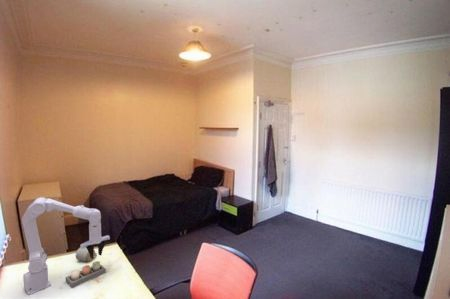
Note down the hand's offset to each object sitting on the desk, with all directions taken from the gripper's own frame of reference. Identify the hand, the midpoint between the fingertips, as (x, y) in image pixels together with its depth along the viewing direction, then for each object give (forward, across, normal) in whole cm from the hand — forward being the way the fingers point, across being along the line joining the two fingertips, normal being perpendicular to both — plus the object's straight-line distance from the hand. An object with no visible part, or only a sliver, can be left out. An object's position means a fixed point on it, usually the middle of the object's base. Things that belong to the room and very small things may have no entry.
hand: (96, 256), depth 133 cm
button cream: (+8, -10, 0) cm, 13 cm away
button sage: (+8, 0, 0) cm, 8 cm away
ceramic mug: (+10, +3, +19) cm, 22 cm away
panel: (+9, -5, 0) cm, 11 cm away
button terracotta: (+8, -5, 0) cm, 9 cm away
